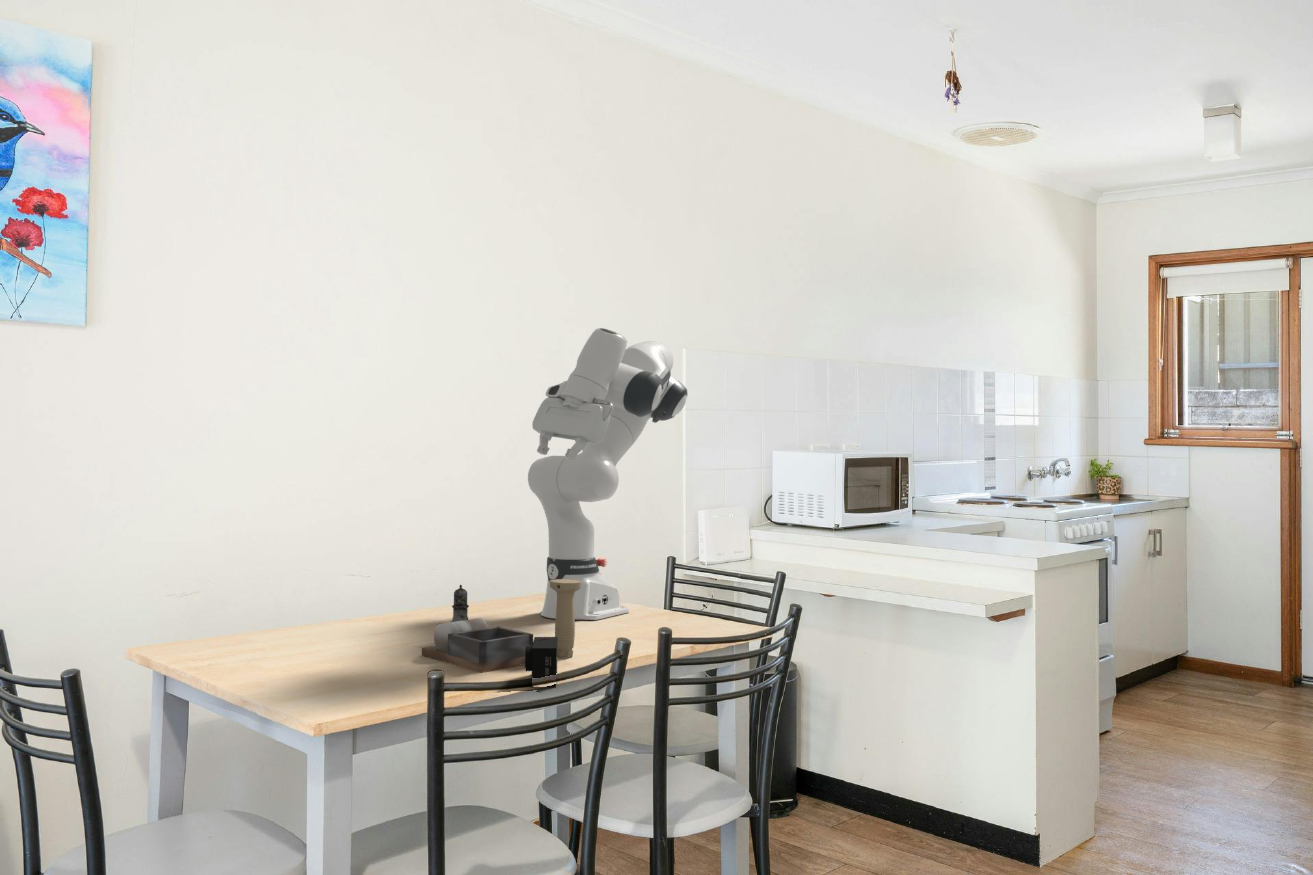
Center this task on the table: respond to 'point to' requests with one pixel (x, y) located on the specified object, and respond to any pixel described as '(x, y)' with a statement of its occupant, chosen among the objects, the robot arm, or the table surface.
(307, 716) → the table surface
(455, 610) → the dark grey chess piece
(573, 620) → the handle
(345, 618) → the table surface
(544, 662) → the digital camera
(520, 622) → the table surface
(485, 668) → the base
